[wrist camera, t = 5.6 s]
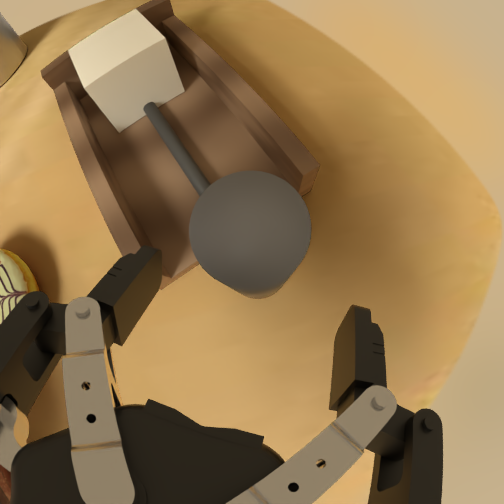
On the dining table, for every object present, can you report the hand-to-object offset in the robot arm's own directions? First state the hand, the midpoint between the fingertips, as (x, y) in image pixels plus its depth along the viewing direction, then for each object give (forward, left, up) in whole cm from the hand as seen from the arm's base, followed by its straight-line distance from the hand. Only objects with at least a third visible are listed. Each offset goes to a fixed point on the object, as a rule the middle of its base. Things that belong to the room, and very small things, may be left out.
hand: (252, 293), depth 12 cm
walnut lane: (-14, +1, -7) cm, 16 cm away
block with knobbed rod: (-11, +1, -6) cm, 12 cm away
